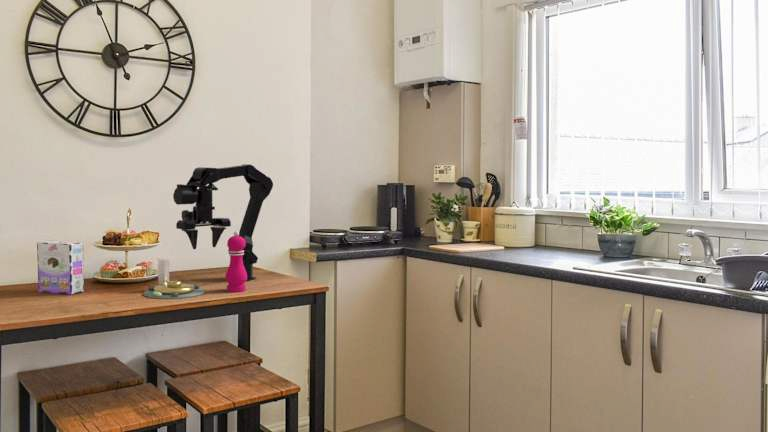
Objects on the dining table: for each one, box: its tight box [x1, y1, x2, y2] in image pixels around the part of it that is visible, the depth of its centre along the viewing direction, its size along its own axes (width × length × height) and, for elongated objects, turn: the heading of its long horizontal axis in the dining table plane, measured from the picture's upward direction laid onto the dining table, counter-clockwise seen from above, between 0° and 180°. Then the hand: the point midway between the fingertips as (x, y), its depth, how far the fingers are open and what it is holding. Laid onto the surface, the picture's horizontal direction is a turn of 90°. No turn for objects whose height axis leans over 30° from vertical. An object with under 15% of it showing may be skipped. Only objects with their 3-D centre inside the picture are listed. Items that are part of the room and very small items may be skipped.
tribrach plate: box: [143, 284, 205, 300], centre depth 218 cm, size 19×19×2 cm
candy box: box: [36, 240, 85, 295], centre depth 216 cm, size 14×6×16 cm, turn 71°
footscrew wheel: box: [154, 258, 195, 294], centre depth 218 cm, size 15×13×9 cm
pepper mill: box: [224, 230, 247, 293], centre depth 224 cm, size 7×7×20 cm
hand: (204, 248), depth 233 cm, fingers open, 8 cm apart
